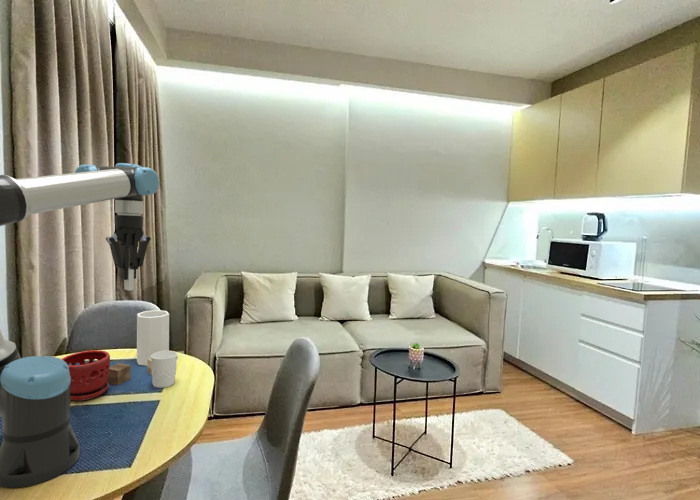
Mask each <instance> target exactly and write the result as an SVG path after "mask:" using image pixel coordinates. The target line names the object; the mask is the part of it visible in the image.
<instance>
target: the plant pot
mask: <svg viewBox="0 0 700 500" xmlns="http://www.w3.org/2000/svg"><path fill="white" fill-rule="evenodd" d="M110 355H111V354H110V353H109V352H108V351H105V350H97V349H95V350H85V351H84V350H83V351H80V352H75V353H72V354H69V355H66V356H64V357H62V358H61V359H62V360H63V361H65V362H66V363H67V365H68V367H69V373H70V377H71V381H70V401H74V402H75V401H77V402H78V401H88V400H91V399H94V398H97V397H99V396H101V395H103V394H104V393H105V392H106V391H107V390H108V389H109V386H110V383H108V382H106V381H107V378H108V375H109V368H110V367H111V356H110ZM86 360H87V361H88V362H85V361H86ZM95 360H97V361H95ZM77 364H79V365H77Z"/></svg>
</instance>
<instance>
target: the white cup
mask: <svg viewBox="0 0 700 500" xmlns="http://www.w3.org/2000/svg"><path fill="white" fill-rule="evenodd" d="M177 359H178V353H177V352H176V351H174V350H169V351H160V352H156V353H154V354H152V355H151V370H152V375H151V377H152V378H151V379H152V381H151V382H152V386H153V387H154V388H159V389H161V388H168V387H172V385H174V384H175V381H176V373H177V364H178V363H177V362H178V361H177Z"/></svg>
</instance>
